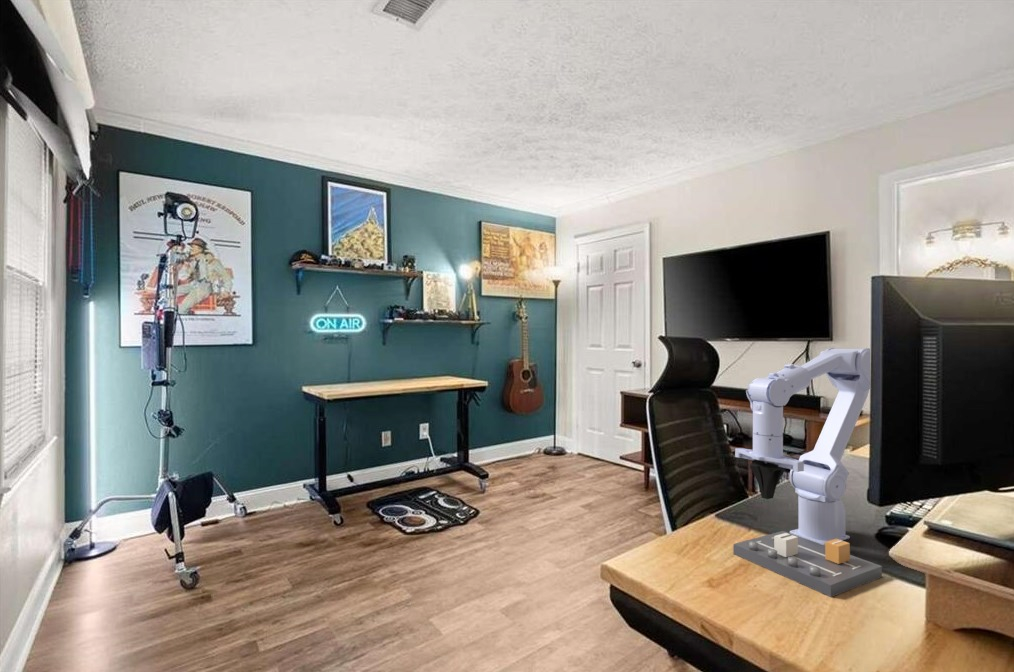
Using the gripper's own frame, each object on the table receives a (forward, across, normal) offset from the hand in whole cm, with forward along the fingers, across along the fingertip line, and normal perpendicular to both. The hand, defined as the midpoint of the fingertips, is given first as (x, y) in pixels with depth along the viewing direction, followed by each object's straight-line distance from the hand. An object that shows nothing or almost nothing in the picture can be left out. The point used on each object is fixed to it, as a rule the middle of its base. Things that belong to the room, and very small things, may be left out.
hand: (767, 497), depth 105 cm
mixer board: (+10, +10, -3) cm, 14 cm away
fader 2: (+8, +14, 0) cm, 16 cm away
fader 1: (+8, +8, -6) cm, 12 cm away
